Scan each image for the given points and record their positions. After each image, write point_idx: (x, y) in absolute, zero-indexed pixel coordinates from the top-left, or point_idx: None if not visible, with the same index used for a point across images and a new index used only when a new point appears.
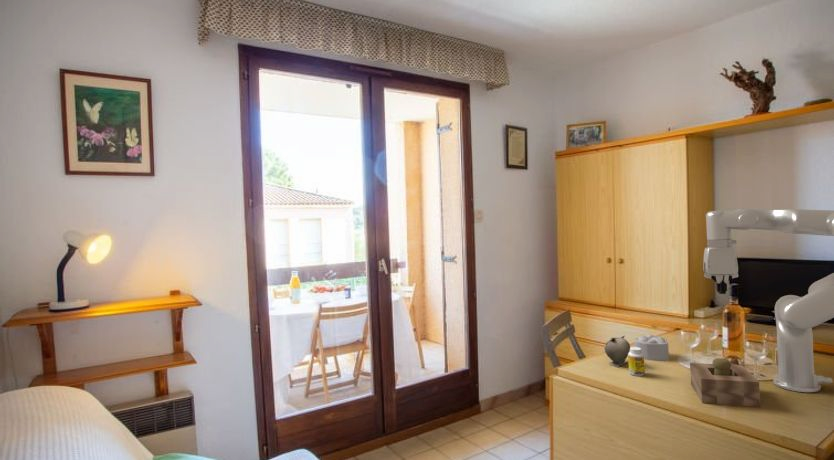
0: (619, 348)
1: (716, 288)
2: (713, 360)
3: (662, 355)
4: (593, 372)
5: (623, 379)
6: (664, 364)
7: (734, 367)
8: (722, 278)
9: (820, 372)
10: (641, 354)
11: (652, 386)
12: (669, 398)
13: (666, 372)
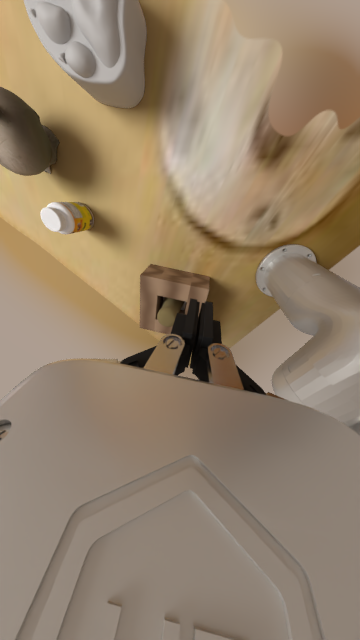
0: (19, 173)
1: (175, 319)
2: (157, 316)
3: (123, 101)
4: (23, 208)
5: (69, 242)
6: (129, 147)
7: (193, 297)
8: (208, 366)
9: None
10: (68, 228)
11: (105, 269)
12: (120, 302)
13: (127, 207)
